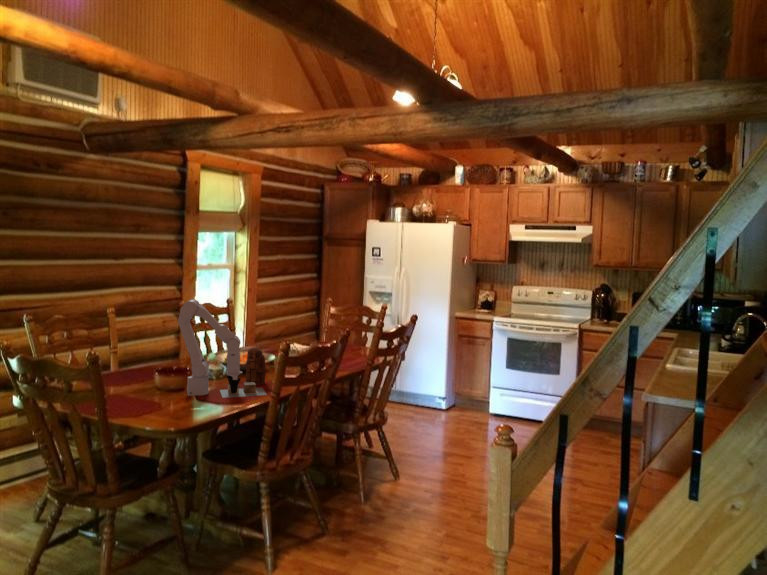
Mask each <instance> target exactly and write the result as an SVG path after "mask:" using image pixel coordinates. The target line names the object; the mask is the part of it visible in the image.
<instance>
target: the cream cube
mask: <svg viewBox="0 0 767 575" xmlns="http://www.w3.org/2000/svg"><path fill="white" fill-rule="evenodd" d="M227 389H228V394H239V389H240V385H239V384H238V388H237V392H236V393H231V388H230V384H229V383H227Z"/></svg>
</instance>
